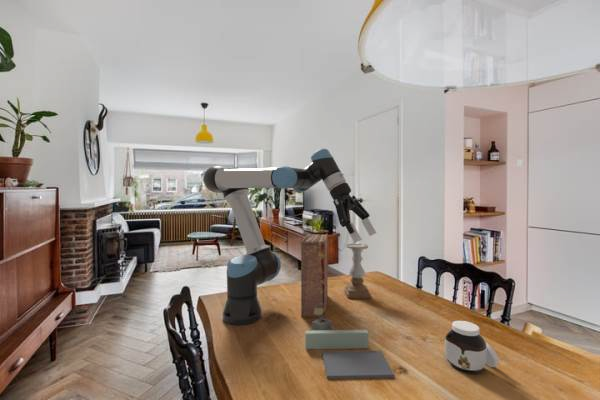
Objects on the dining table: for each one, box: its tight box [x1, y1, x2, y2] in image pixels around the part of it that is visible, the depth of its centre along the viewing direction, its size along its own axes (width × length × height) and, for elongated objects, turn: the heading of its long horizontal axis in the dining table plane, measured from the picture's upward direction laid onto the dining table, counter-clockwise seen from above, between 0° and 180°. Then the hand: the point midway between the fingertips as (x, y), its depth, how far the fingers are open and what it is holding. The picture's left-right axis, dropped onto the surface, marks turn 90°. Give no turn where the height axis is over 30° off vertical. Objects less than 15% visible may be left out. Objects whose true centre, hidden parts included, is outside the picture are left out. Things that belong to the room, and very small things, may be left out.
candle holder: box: [344, 243, 372, 300], centre depth 143 cm, size 11×11×24 cm
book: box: [300, 232, 329, 318], centre depth 130 cm, size 25×9×30 cm, turn 172°
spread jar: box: [444, 320, 500, 374], centre depth 85 cm, size 12×11×12 cm
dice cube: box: [311, 317, 333, 331], centre depth 103 cm, size 5×5×5 cm
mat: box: [322, 350, 395, 380], centre depth 85 cm, size 18×12×1 cm, turn 91°
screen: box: [304, 329, 370, 350], centre depth 95 cm, size 20×2×5 cm, turn 91°
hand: (366, 237), depth 106 cm, fingers open, 13 cm apart
